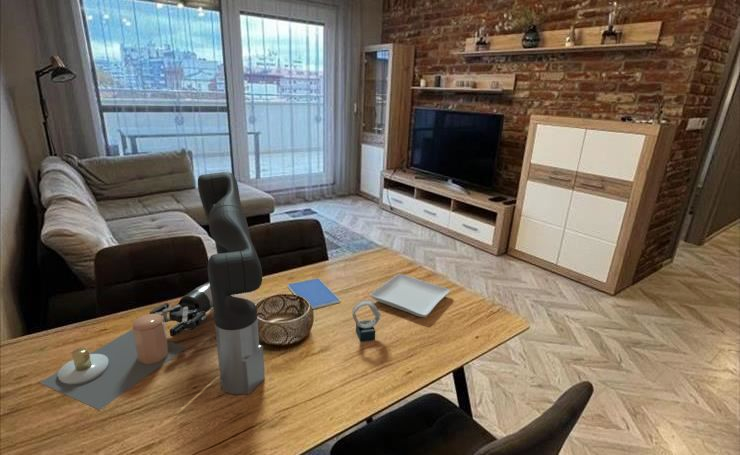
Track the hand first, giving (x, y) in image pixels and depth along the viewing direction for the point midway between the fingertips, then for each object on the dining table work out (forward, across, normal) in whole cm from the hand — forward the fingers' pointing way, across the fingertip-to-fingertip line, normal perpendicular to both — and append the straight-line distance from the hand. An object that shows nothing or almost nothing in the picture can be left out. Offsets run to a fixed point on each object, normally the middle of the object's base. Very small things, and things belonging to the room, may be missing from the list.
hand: (157, 330), depth 102 cm
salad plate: (-51, +57, +7) cm, 77 cm away
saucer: (+12, -11, +6) cm, 18 cm away
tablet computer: (-43, +24, +7) cm, 50 cm away
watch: (-26, +48, +7) cm, 55 cm away
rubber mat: (+8, -6, +7) cm, 12 cm away
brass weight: (+12, -11, +5) cm, 17 cm away
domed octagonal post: (+2, 0, +6) cm, 6 cm away
